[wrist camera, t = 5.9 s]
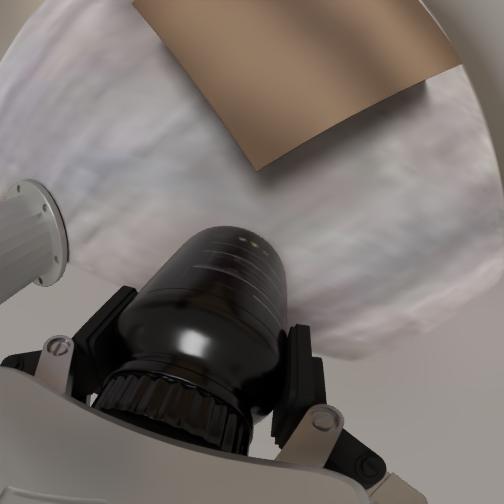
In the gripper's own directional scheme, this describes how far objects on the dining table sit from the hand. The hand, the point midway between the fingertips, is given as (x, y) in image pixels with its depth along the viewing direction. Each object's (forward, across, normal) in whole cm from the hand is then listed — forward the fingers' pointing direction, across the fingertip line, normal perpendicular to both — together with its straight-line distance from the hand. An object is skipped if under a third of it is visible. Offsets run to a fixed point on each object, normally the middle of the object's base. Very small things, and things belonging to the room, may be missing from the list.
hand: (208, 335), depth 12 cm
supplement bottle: (+6, 0, 0) cm, 6 cm away
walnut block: (+11, -1, -16) cm, 20 cm away
